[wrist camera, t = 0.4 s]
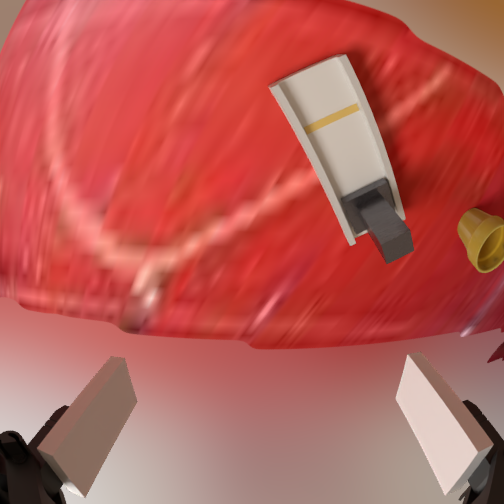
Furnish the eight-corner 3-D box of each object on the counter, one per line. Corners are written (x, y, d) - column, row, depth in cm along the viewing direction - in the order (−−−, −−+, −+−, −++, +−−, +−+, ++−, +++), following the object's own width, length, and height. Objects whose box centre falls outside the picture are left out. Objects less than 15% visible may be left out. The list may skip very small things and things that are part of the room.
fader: (340, 198, 39) (366, 242, 31) (382, 178, 37) (418, 216, 29) (353, 229, 42) (378, 275, 34) (392, 210, 40) (424, 252, 32)
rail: (267, 85, 31) (270, 88, 29) (337, 54, 29) (345, 54, 26) (344, 234, 46) (350, 246, 43) (396, 208, 43) (405, 218, 40)
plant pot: (441, 222, 45) (470, 253, 37) (476, 187, 40) (509, 213, 33) (457, 251, 49) (482, 282, 41) (489, 220, 45) (516, 247, 37)
